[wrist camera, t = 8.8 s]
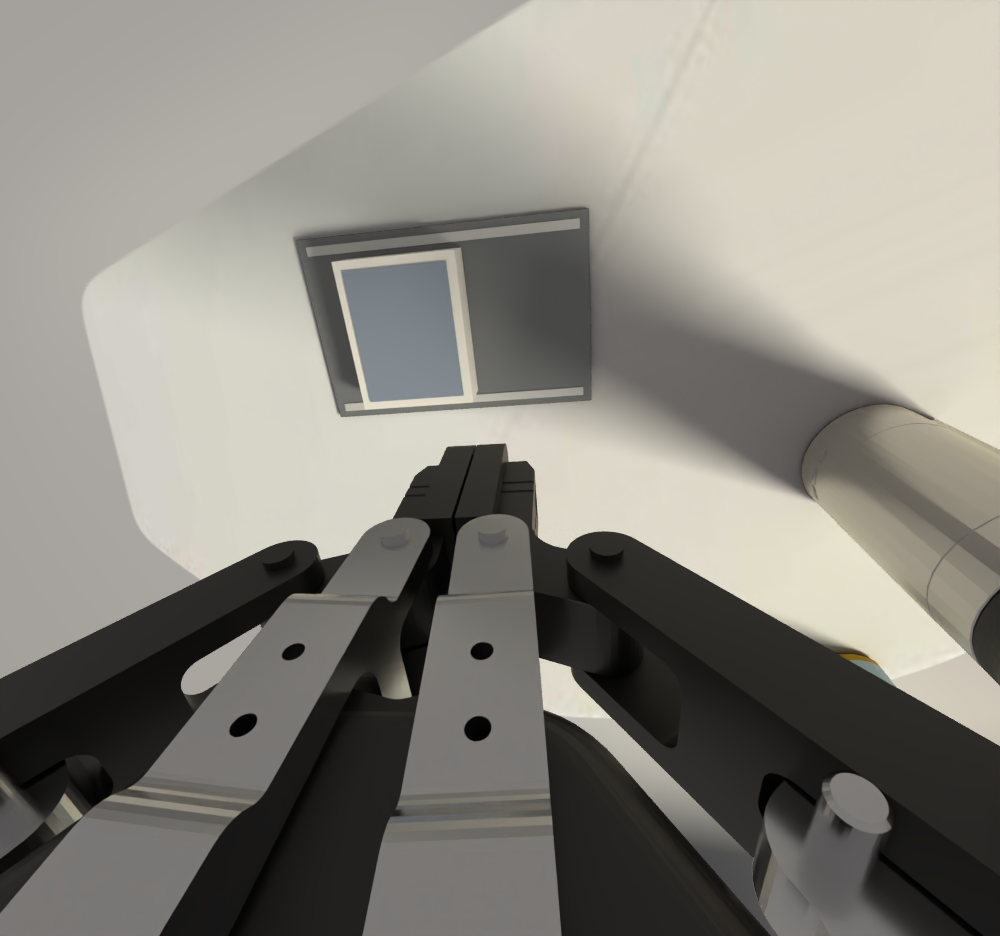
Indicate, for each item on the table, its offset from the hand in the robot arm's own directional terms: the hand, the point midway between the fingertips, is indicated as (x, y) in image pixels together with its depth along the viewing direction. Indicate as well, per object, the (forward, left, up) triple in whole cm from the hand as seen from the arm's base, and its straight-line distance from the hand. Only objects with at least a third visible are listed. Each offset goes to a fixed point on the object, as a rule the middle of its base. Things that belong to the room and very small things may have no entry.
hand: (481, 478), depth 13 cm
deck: (+8, 0, -23) cm, 24 cm away
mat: (+5, 0, -25) cm, 26 cm away
